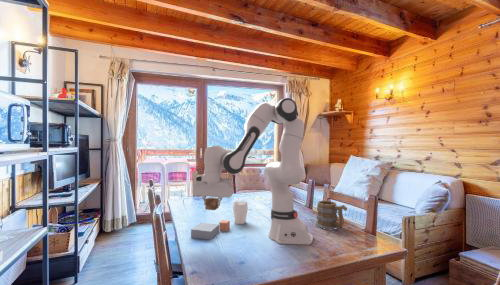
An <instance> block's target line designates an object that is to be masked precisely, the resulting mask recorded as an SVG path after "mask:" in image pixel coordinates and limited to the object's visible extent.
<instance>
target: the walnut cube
mask: <svg viewBox="0 0 500 285" xmlns="http://www.w3.org/2000/svg"><path fill="white" fill-rule="evenodd" d="M218 201H219V199H218V197H211V196H208V197H206V202H205V205H204V206H205V210H208V211H216V210H217V209H219V207H220V206H216V202H218Z"/></svg>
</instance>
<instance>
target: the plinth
mask: <svg viewBox="0 0 500 285" xmlns="http://www.w3.org/2000/svg"><path fill="white" fill-rule="evenodd" d="M219 232H220V230H219V223H218V224H216V223H207V222H200V223H198V224H197V225H195V226H194V227H192V228H191V229H190V238H195V239H196V238H197V239H204V240H212V239H213V238H214V237H215V236H216V235H217V234H218V233H219Z"/></svg>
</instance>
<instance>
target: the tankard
mask: <svg viewBox="0 0 500 285" xmlns="http://www.w3.org/2000/svg"><path fill="white" fill-rule="evenodd" d="M316 210H317V213H316V214H317V215H316V221H315V227H316V226H318V227H317V228H319V227H321V228H325V229H324V230H326V229H334V228H339V229H340V228H343V226H344V224H345V219H344V216H343V210H344V211H348V207H347V206H346V205H345V204H342V205H340V206H338V205H337V203H336V202H335V201H333V200H332V201H330V200H319V201H317V206H316ZM338 218H339V222H338ZM321 228H320V229H321Z"/></svg>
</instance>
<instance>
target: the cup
mask: <svg viewBox="0 0 500 285" xmlns="http://www.w3.org/2000/svg"><path fill="white" fill-rule="evenodd" d="M232 206H233V207H232V209H233V217H234V223H235V224H237V225H243V224H246V222H247V214H248V209H249V208H248V202H247V201H242V200H241V201H234V202H233V205H232Z"/></svg>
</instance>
